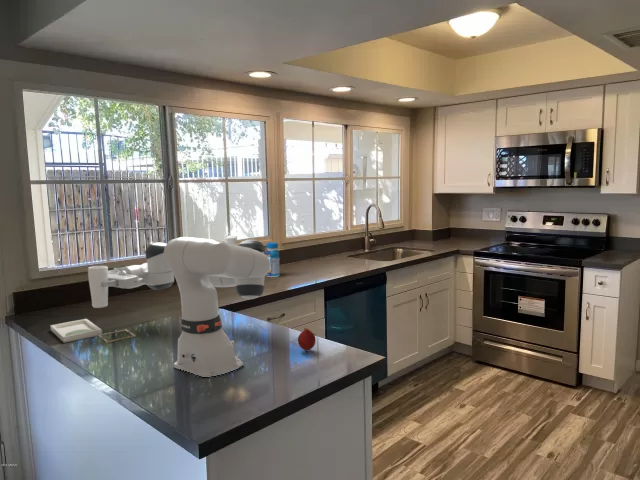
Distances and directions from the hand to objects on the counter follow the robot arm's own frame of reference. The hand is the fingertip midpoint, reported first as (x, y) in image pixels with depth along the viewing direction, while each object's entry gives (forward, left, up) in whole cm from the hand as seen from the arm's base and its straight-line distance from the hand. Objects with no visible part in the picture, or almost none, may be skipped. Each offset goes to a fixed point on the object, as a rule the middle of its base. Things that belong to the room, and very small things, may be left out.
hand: (96, 283), depth 175 cm
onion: (-68, -45, -20) cm, 84 cm away
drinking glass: (0, -1, -9) cm, 9 cm away
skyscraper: (+46, -84, -20) cm, 98 cm away
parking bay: (-7, -4, -19) cm, 21 cm away
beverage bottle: (+44, -111, -20) cm, 121 cm away
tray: (+9, +6, -19) cm, 22 cm away
